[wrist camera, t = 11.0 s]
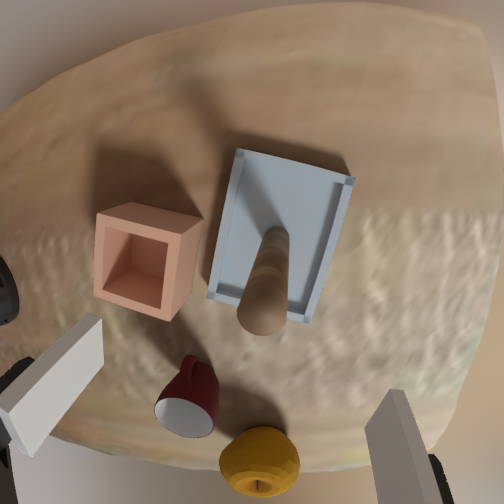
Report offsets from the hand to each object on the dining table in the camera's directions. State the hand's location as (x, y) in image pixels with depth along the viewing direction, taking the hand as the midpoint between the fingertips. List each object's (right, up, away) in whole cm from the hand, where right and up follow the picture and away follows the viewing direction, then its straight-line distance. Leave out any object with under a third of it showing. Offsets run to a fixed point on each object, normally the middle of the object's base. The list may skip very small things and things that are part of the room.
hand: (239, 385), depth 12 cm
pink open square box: (-11, +6, +26) cm, 29 cm away
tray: (+4, +7, +24) cm, 26 cm away
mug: (-7, -11, +32) cm, 34 cm away
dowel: (+3, +7, +23) cm, 25 cm away
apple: (+3, -27, +35) cm, 44 cm away
